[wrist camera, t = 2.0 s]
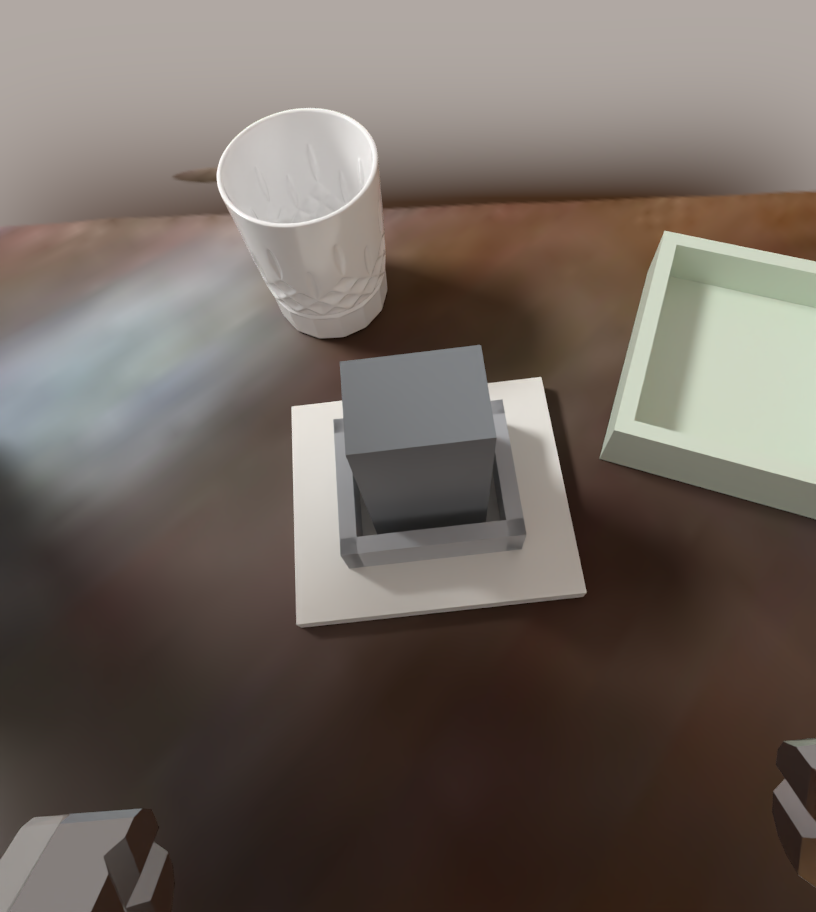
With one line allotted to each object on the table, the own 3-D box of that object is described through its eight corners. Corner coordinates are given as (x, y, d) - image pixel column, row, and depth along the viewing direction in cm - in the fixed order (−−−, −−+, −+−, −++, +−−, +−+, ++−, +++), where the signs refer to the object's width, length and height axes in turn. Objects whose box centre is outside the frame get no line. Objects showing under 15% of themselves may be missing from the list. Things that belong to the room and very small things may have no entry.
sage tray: (599, 458, 34) (613, 430, 31) (647, 272, 39) (664, 230, 35) (861, 532, 31) (907, 509, 28) (879, 323, 36) (920, 283, 33)
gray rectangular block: (377, 535, 32) (345, 455, 23) (371, 459, 34) (339, 357, 25) (485, 523, 32) (496, 437, 23) (474, 447, 34) (480, 340, 25)
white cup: (380, 356, 38) (356, 235, 29) (256, 339, 39) (193, 217, 30) (408, 253, 41) (393, 113, 32) (291, 240, 42) (244, 101, 33)
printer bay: (301, 627, 32) (283, 615, 28) (295, 414, 36) (280, 384, 33) (583, 597, 31) (597, 580, 28) (539, 386, 36) (547, 351, 33)
